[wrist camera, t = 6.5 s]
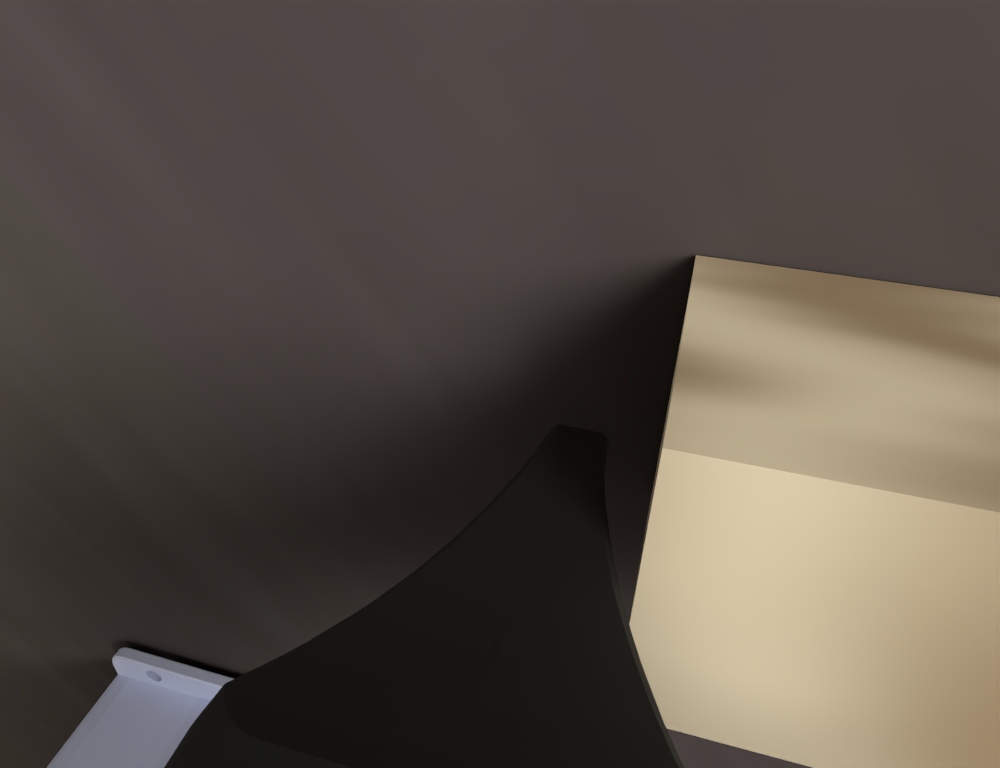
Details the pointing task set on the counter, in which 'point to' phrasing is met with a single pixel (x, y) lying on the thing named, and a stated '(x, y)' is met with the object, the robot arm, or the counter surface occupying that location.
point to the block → (828, 522)
